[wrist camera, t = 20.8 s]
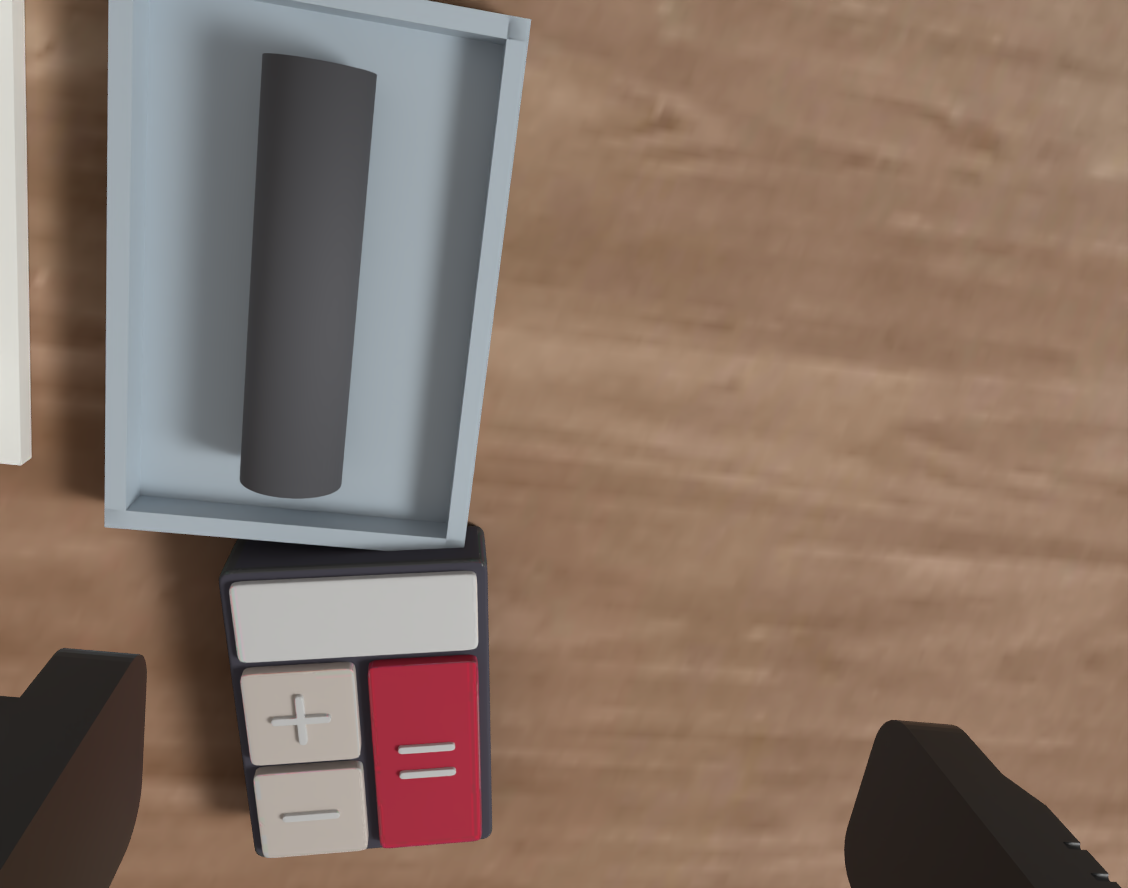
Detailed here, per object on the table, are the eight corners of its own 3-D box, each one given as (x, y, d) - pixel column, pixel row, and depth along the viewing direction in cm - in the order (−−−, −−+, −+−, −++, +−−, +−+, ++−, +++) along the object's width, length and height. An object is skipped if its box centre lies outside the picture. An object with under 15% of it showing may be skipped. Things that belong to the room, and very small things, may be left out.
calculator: (251, 872, 41) (211, 581, 36) (268, 804, 45) (234, 533, 40) (493, 852, 42) (488, 568, 37) (489, 788, 46) (483, 523, 41)
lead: (276, 62, 34) (249, 47, 30) (383, 79, 35) (369, 68, 31) (253, 460, 39) (227, 491, 35) (348, 471, 39) (332, 503, 35)
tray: (131, -43, 33) (109, -58, 31) (525, 28, 35) (531, 19, 33) (124, 505, 39) (104, 527, 37) (461, 535, 41) (462, 557, 39)
